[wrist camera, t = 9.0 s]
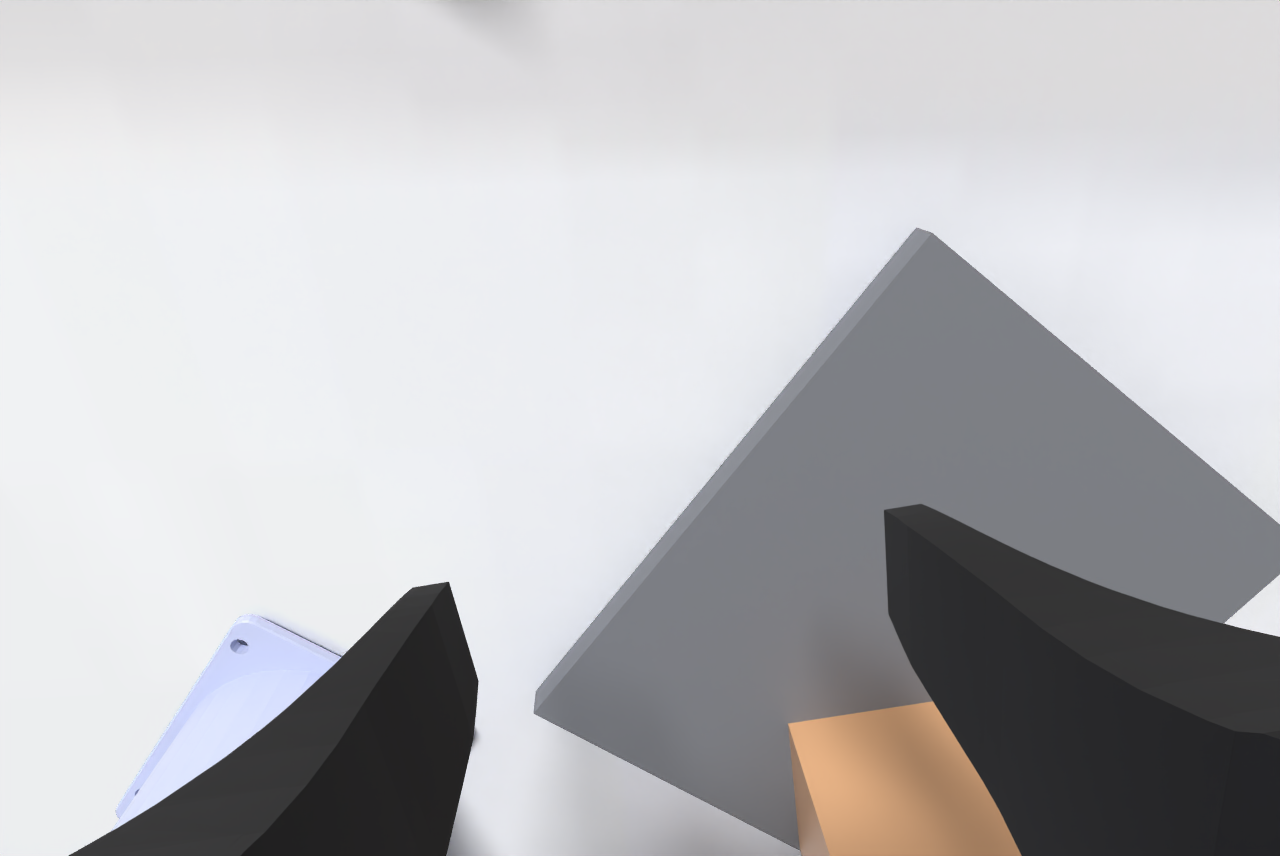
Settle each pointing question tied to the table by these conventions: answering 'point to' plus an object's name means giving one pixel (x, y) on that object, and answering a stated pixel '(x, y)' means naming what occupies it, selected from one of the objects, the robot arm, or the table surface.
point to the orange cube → (891, 788)
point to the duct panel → (855, 533)
